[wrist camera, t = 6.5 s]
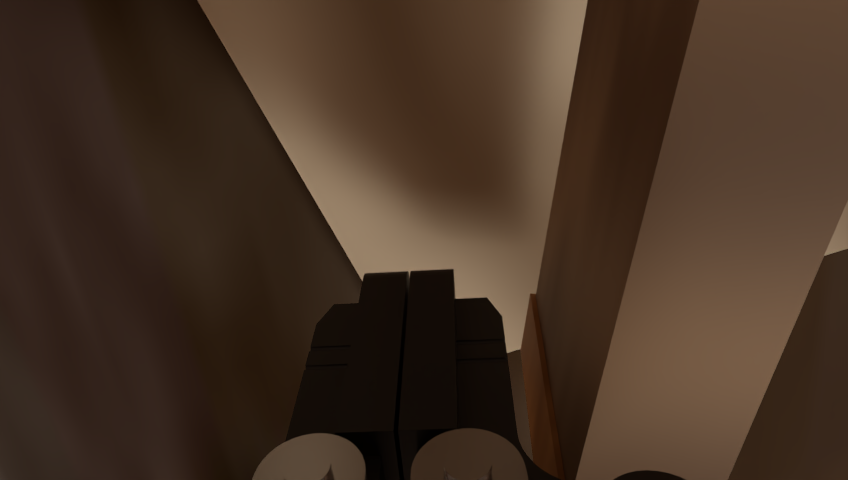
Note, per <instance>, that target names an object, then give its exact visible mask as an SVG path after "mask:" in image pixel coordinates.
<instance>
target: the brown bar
mask: <svg viewBox="0 0 848 480" xmlns="http://www.w3.org/2000/svg"><path fill="white" fill-rule="evenodd" d="M847 201H848V0H588V1H587V7H586V13H585V18H584V24H583V30H582V35H581V41H580V47H579V52H578V58H577V64H576V69H575V75H574V81H573V87H572V92H571V98H570V104H569V109H568V115H567V121H566V126H565V132H564V138H563V143H562V149H561V155H560V160H559V166H558V172H557V177H556V183H555V189H554V194H553V200H552V206H551V211H550V217H549V223H548V228H547V234H546V240H545V245H544V251H543V257H542V262H541V268H540V274H539V279H538V285H537V291H536V294H531V293H530V297H529V303H528V309H527V315H526V321H525V326H524V332H523V338H522V344H521V358H522V367H523V376H524V384H525V393H526V401H527V410H528V419H529V427H530V436H531V444H532V453H533V462H534V463H535V464H536V465H537V466H538V467H539V468H541V469H542V470H544V471H545V472H547V473H549V474H550V475H552V476H554V477H557V478H559V479H561V480H614V479H615V478H617V477H618V476H621V475H623V474H626V473H629V472H634V471H642V470H652V471H661V472H666V473H670V474H673V475H676V476H679V477H681V478H683V479H686V480H728V478H729V475H730V473H731V471H732V468H733V466H734V464H735V461H736V459H737V457H738V454H739V452H740V450H741V447H742V445H743V443H744V440H745V438H746V436H747V434H748V431H749V429H750V427H751V424H752V422H753V420H754V417H755V415H756V413H757V410H758V408H759V406H760V403H761V401H762V399H763V396H764V394H765V392H766V389H767V387H768V385H769V382H770V380H771V378H772V375H773V373H774V371H775V368H776V366H777V364H778V361H779V359H780V357H781V355H782V352H783V350H784V348H785V345H786V343H787V341H788V338H789V336H790V334H791V331H792V329H793V327H794V324H795V322H796V320H797V317H798V315H799V313H800V310H801V308H802V306H803V303H804V301H805V299H806V296H807V294H808V292H809V289H810V287H811V285H812V282H813V280H814V278H815V276H816V273H817V271H818V269H819V266H820V264H821V262H822V259H823V257H824V255H825V252H826V250H827V248H828V245H829V243H830V241H831V238H832V236H833V234H834V231H835V229H836V227H837V224H838V222H839V220H840V217H841V215H842V213H843V210H844V208H845V206H846V203H847Z"/></svg>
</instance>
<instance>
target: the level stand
mask: <svg viewBox="0 0 848 480" xmlns="http://www.w3.org/2000/svg"><path fill="white" fill-rule="evenodd" d="M197 1H198V2H199V4H200V6H201V7H202V9H203V11H204V13H205V14H206V16H207V18H208V19H209V21H210V23H211V25H212V26H213V28H214V30H215V31H216V33H217V35H218V36H219V38H220V40H221V42H222V43H223V45H224V47H225V48H226V50H227V52H228V53H229V55H230V57H231V59H232V60H233V62H234V64H235V65H236V67H237V69H238V70H239V72H240V74H241V76H242V77H243V79H244V81H245V82H246V84H247V86H248V87H249V89H250V91H251V93H252V94H253V96H254V98H255V99H256V101H257V103H258V104H259V106H260V108H261V110H262V111H263V113H264V115H265V116H266V118H267V120H268V122H269V123H270V125H271V127H272V128H273V130H274V132H275V133H276V135H277V137H278V139H279V140H280V142H281V144H282V145H283V147H284V149H285V150H286V152H287V154H288V156H289V157H290V159H291V161H292V162H293V164H294V166H295V167H296V169H297V171H298V173H299V174H300V176H301V178H302V179H303V181H304V183H305V184H306V186H307V188H308V190H309V191H310V193H311V195H312V196H313V198H314V200H315V201H316V203H317V205H318V207H319V208H320V210H321V212H322V213H323V215H324V217H325V218H326V220H327V222H328V224H329V225H330V227H331V229H332V230H333V232H334V234H335V236H336V237H337V239H338V241H339V242H340V244H341V246H342V247H343V249H344V251H345V253H346V254H347V256H348V258H349V259H350V261H351V263H352V264H353V266H354V268H355V270H356V271H357V273H358V275H359V276H360V278H361V280H362V281H363V277H364V274H365V273H380V272H401V271H408V272H409V277H410V272H411V271H420V270H441V269H454V282H455V298H456V299H462V298H484V297H487V298H488V299H489V301H490V302H491V303H492V304H493V306H494V307H495V308H496V309H497V310H498V312H499V313H500V314H501V315H502V319H503V327H504V335H505V343H506V350H507V353H508V352H512V351H515V350H518V349H521V344H522V338H523V332H524V326H525V321H526V315H527V309H528V303H529V297H530V293H531V294H536V291H537V285H538V279H539V274H540V268H541V262H542V257H543V251H544V245H545V240H546V234H547V228H548V223H549V217H550V211H551V206H552V200H553V194H554V189H555V183H556V177H557V172H558V166H559V160H560V155H561V149H562V143H563V138H564V132H565V126H566V121H567V115H568V109H569V104H570V98H571V92H572V87H573V81H574V75H575V69H576V64H577V58H578V52H579V47H580V41H581V35H582V30H583V24H584V18H585V13H586V7H587V1H588V0H197ZM844 249H848V201H847V203H846V206H845V208H844V210H843V213H842V215H841V217H840V220H839V222H838V224H837V227H836V229H835V231H834V234H833V236H832V238H831V241H830V243H829V245H828V248H827V250H826V252H825V255H828V254H831V253H835V252H838V251H841V250H844ZM825 255H824V256H825Z"/></svg>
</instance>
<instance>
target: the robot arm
mask: <svg viewBox="0 0 848 480" xmlns="http://www.w3.org/2000/svg"><path fill="white" fill-rule="evenodd" d="M252 480H561V479H559V478H557V477H554V476H552V475H550V474H549V473H547V472H545V471H544V470H542V469H541V468H539V467H538V466H537V465H536V464H535V463H533V461H532V460H531V459H530V458H529V457H528V456H527V455H526V453H525V452H524V450H523V449H522V447H521V444H520V442H519V439H518V435H517V428H516V421H515V413H514V405H513V397H512V389H511V381H510V374H509V366H508V360H507V350H506V343H505V335H504V327H503V319H502V315H501V314H500V313H499V312H498V310H497V309H496V308H495V307H494V306H493V304H492V303H491V302H490V301H489V299H488V298H487V297H484V298H462V299H456V298H455V282H454V269H441V270H420V271H411V272H410V277H409V272H408V271H401V272H380V273H365V274H364V277H363V282H362V287H361V293H360V298H359V303H354V304H334V305H333V306H332V307H331V309H330V310H329V311H328V312H327V313H326V314H325V315H324V316H323V318H322V319H321V320H320V321H319V322H318V323H317V325H316V328H315V332H314V336H313V340H312V343H311V351H309V355H308V358H307V362H306V370H304V373H303V377H302V381H301V385H300V388H299V392H298V396H297V400H296V404H295V407H294V411H293V415H292V419H291V422H290V426H289V430H288V434H287V437H286V441H285V443H283V444H281V445H279V446H278V447H276V448H275V449H274V450H273V451H271V452H270V453H269V454H268V455H267V456H266V457H265V458H264V459H263V460H262V462H261V463H260V465H259V466H258V468H257V470H256V472H255V474H254V476H253V479H252ZM614 480H686V479H683V478H681V477H679V476H676V475H673V474H670V473H666V472H661V471H652V470H642V471H634V472H629V473H626V474H623V475H621V476H618V477H617V478H615V479H614Z"/></svg>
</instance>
